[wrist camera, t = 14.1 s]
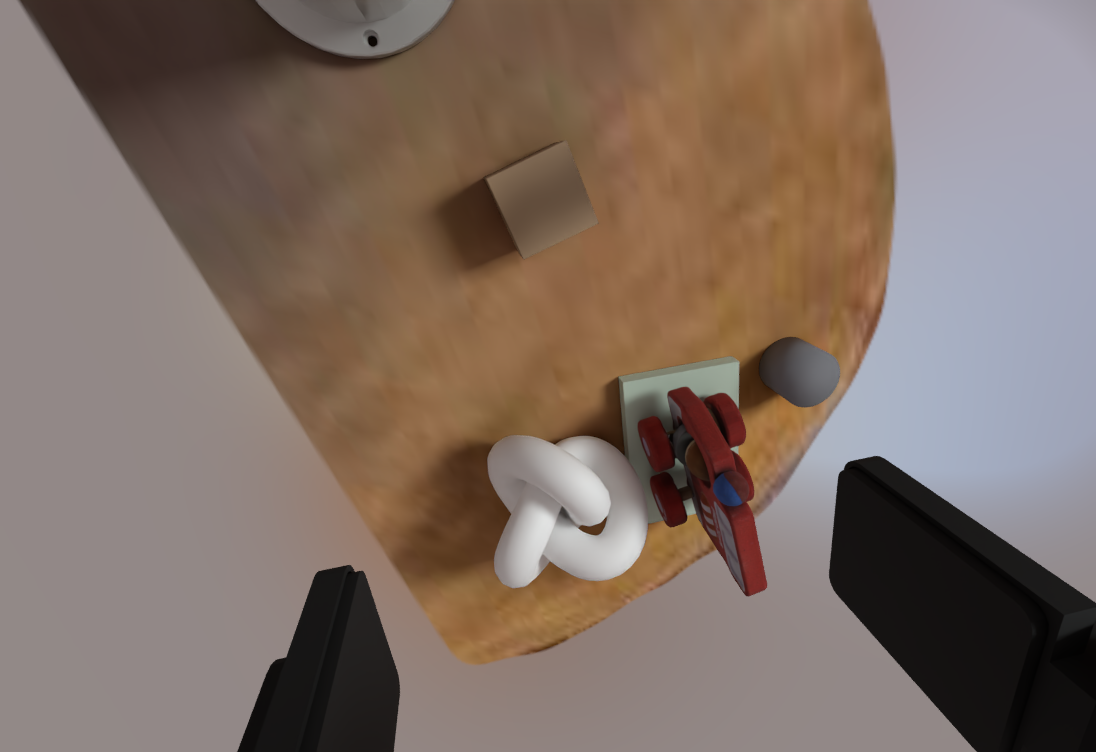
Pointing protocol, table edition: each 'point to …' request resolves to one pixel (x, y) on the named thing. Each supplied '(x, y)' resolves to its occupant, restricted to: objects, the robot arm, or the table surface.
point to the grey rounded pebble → (799, 371)
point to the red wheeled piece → (707, 478)
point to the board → (649, 399)
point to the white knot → (566, 508)
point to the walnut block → (542, 199)
